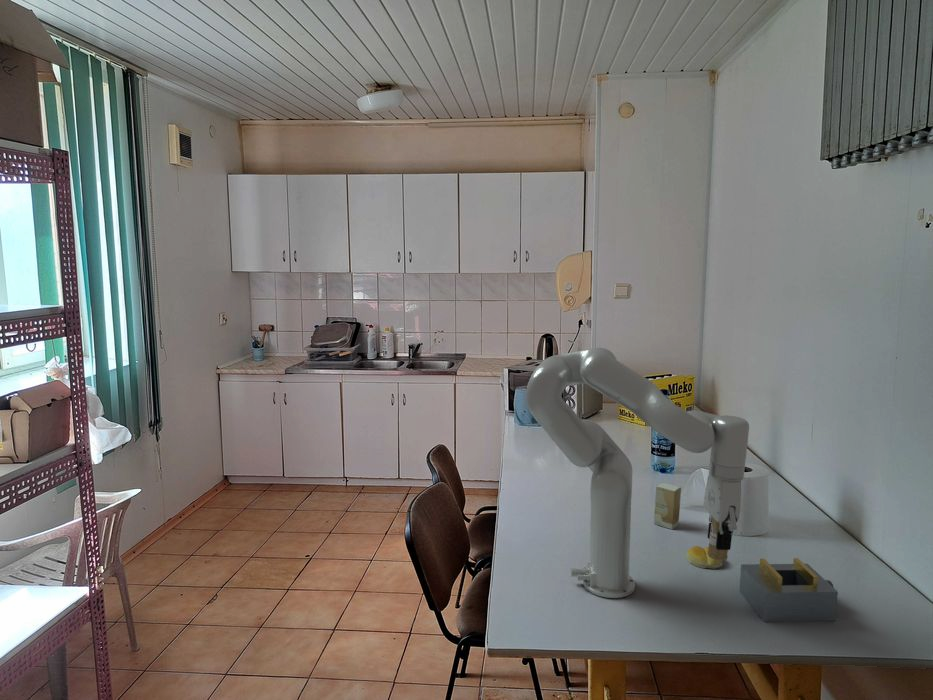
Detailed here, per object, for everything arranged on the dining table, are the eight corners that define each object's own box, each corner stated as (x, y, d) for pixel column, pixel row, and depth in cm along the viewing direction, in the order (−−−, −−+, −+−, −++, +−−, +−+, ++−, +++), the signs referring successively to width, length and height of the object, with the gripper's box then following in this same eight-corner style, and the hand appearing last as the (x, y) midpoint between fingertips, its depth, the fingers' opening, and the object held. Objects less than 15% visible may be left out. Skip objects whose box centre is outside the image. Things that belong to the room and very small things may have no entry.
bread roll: (685, 553, 179) (685, 540, 179) (720, 557, 177) (720, 543, 177) (687, 568, 171) (688, 553, 171) (724, 571, 169) (724, 557, 169)
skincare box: (653, 524, 198) (654, 485, 196) (659, 519, 201) (661, 481, 199) (673, 530, 193) (675, 490, 192) (679, 525, 197) (681, 486, 195)
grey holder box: (763, 621, 146) (766, 582, 145) (739, 591, 159) (741, 554, 158) (844, 620, 146) (847, 581, 145) (813, 590, 159) (816, 553, 158)
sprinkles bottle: (703, 552, 156) (709, 499, 154) (722, 552, 157) (727, 498, 154) (712, 561, 152) (718, 506, 150) (731, 561, 152) (737, 506, 150)
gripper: (697, 457, 159) (690, 527, 162) (724, 482, 142) (716, 561, 145) (728, 458, 159) (720, 528, 162) (759, 484, 142) (750, 562, 146)
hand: (718, 543), depth 154 cm, fingers closed on sprinkles bottle, 4 cm apart
